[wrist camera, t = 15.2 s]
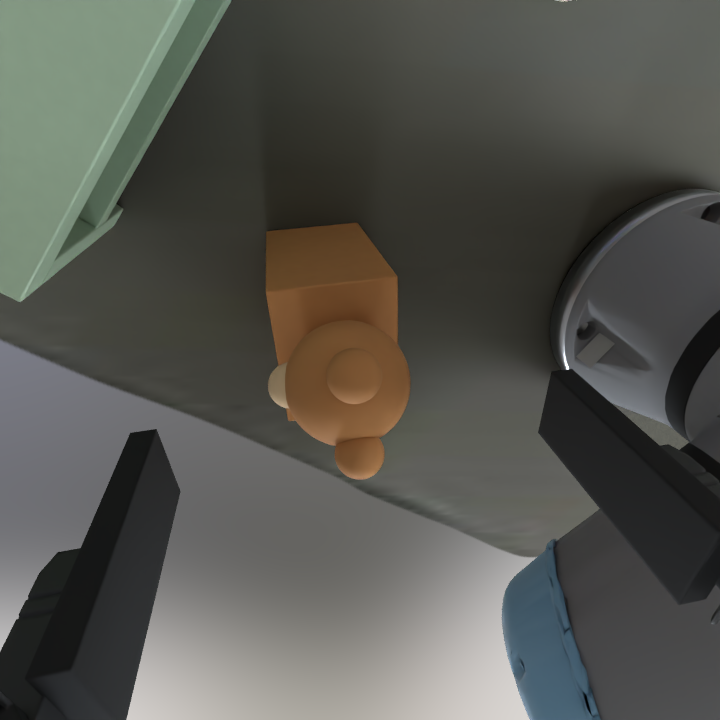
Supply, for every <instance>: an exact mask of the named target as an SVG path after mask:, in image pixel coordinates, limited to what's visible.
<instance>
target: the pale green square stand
mask: <svg viewBox="0 0 720 720" xmlns="http://www.w3.org/2000/svg"><path fill="white" fill-rule="evenodd" d="M231 1H232V0H0V293H2V294H4V295H6V296H8V297H10V298H12V299H14V300H16V301H19V302H21V301H22V300H24V299H25V298H26V297H27V296H29V295H30V294H31V293H32V292H34V291H35V290H36V289H37V288H38V287H40V286H41V285H42V284H43V283H45V282H46V281H47V280H48V279H50V278H51V277H52V276H53V275H54V274H56V273H57V272H58V271H59V270H61V269H62V268H63V267H64V266H65V265H67V264H68V263H69V262H70V261H72V260H73V259H74V258H75V257H77V256H78V255H79V254H80V253H81V252H83V251H84V250H85V249H86V248H88V247H89V246H90V245H91V244H93V243H94V242H95V241H96V240H97V239H99V238H100V237H101V236H102V235H104V234H105V233H106V232H107V231H109V230H110V229H111V228H112V227H113V226H114V225H115V223H116V221H117V220H118V218H119V216H120V215H121V213H122V211H123V208H122V207H120V206H119V205H117V204H116V203H117V201H118V199H119V198H120V196H121V194H122V192H123V191H124V189H125V187H126V185H127V184H128V182H129V180H130V178H131V177H132V175H133V173H134V171H135V170H136V168H137V166H138V164H139V163H140V161H141V159H142V157H143V155H144V154H145V152H146V150H147V148H148V147H149V145H150V143H151V141H152V140H153V138H154V136H155V134H156V133H157V131H158V129H159V127H160V126H161V124H162V122H163V120H164V119H165V117H166V115H167V113H168V112H169V110H170V108H171V106H172V104H173V103H174V101H175V99H176V97H177V96H178V94H179V92H180V90H181V89H182V87H183V85H184V83H185V82H186V80H187V78H188V76H189V75H190V73H191V71H192V69H193V68H194V66H195V64H196V62H197V61H198V59H199V57H200V55H201V53H202V52H203V50H204V48H205V46H206V45H207V43H208V41H209V39H210V38H211V36H212V34H213V32H214V31H215V29H216V27H217V25H218V24H219V22H220V20H221V18H222V17H223V15H224V13H225V11H226V9H227V8H228V6H229V4H230V2H231Z"/></svg>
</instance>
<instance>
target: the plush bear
mask: <svg viewBox="0 0 720 720" xmlns="http://www.w3.org/2000/svg"><path fill="white" fill-rule="evenodd" d="M266 297H267V303H268V309H269V314H270V320H271V326H272V331H273V337H274V343H275V348H276V354H277V360H278V365H279V366H278V367H276V368H275V369H274V371H273V372H272V373H271V375H270V378H269V381H268V390H269V393H270V396H271V398H272V399H273V400H274V401H275V402H276V403H277V404H278V405H280V406H282V407H284V408H286V411H287V417H288V420H289V421H293V420H296V422H297V423H298V424H299V425H300V426H301V428H302V429H304V430H305V431H306V432H307V433H308V434H310V435H311V436H312V437H314V438H315V439H317V440H320V441H322V442H324V443H326V444H330V445H334V446H336V448H335V460H336V463H337V466H338V467H339V469H340V470H341V471H342V472H343V473H344V474H345V475H346V476H348V477H350V478H353V479H366V478H369V477H371V476H373V475H374V474H376V473H377V472H378V471H379V469H380V468H381V466H382V464H383V461H384V447H383V444H382V442H381V440H380V439H379V438H380V437H382V436H383V435H385V434H386V433H387V432H388V431H390V430H391V429H392V428H393V427H394V426H395V425H396V423H397V422H398V420H399V419H400V418H401V416H402V414H403V412H404V411H405V408H406V405H407V403H408V399H409V395H410V384H411V383H410V373H409V368H408V364H407V362H406V359H405V357H404V355H403V353H402V351H401V349H400V348H399V347H398V277H397V275H396V274H395V273H394V271H393V270H392V269H391V267H390V266H389V265H388V263H387V262H386V261H385V259H384V258H383V256H382V255H381V254H380V252H379V251H378V250H377V248H376V247H375V246H374V244H373V243H372V242H371V240H370V239H369V238H368V236H367V235H366V234H365V232H364V231H363V230H362V228H361V227H360V225H359V224H358V223H347V224H337V225H327V226H316V227H306V228H295V229H285V230H275V231H267V232H266Z"/></svg>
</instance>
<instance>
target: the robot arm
mask: <svg viewBox="0 0 720 720" xmlns="http://www.w3.org/2000/svg"><path fill="white" fill-rule="evenodd" d="M550 341H551V347H552V351H553V354H554V357H555V359H556V361H557V363H558V365H559V366H560V368H561V369H562V370H559V371H553V372H551V376H550V381H549V386H548V390H547V395H546V399H545V404H544V408H543V413H542V418H541V422H540V427H539V431H538V433H539V434H540V435H541V437H542V438H543V439H544V440H545V442H546V443H547V444H548V445H549V446H550V448H551V449H552V450H553V451H554V453H555V454H556V455H557V456H558V458H559V459H560V460H561V461H562V462H563V464H564V465H565V466H566V467H567V469H568V470H569V471H570V472H571V474H572V475H573V476H574V477H575V478H576V480H577V481H578V482H579V483H580V485H581V486H582V487H583V488H584V490H585V491H586V492H587V493H588V494H589V496H590V497H591V498H592V499H593V501H594V502H595V503H596V504H597V506H598V507H599V508H600V509H599V510H598V511H597V512H595V513H594V514H593V515H591V516H590V517H589V518H587V519H586V520H585V521H583V522H582V523H581V524H579V525H578V526H576V527H575V528H574V529H572V530H571V531H570V532H568V533H567V534H566V535H564V536H563V537H562V538H560V539H559V540H557V539H553V540H551V541H550V542H549V543H548V544H547V546H546V550H545V551H544V552H543V553H542V554H541V555H539V556H538V557H537V558H536V559H535V560H534V561H532V562H531V563H530V564H529V565H528V566H526V567H525V568H524V569H523V570H522V571H520V572H519V573H518V574H517V575H516V576H515V577H514V578H513V579H512V580H511V581H510V583H509V585H508V587H507V589H506V591H505V595H504V598H503V606H502V626H503V634H504V641H505V645H506V650H507V654H508V659H509V661H510V665H511V668H512V671H513V674H514V677H515V680H516V684H517V687H518V691H519V693H520V696H521V699H522V701H523V704H524V706H525V709H526V711H527V714H528V716H529V719H530V720H720V192H716V191H711V190H706V189H683V190H677V191H672V192H669V193H665V194H662V195H659V196H657V197H654V198H651V199H649V200H647V201H645V202H643V203H641V204H639V205H637V206H635V207H634V208H632V209H630V210H629V211H627V212H626V213H624V214H623V215H621V216H620V217H619V218H617V219H616V220H615V221H613V222H612V223H611V224H610V225H608V226H607V227H606V228H605V229H604V230H603V231H602V232H601V233H600V234H599V235H597V236H596V237H595V239H594V240H593V241H592V242H591V243H590V244H589V245H588V246H587V247H586V249H585V250H584V251H583V252H582V253H581V255H580V256H579V257H578V259H577V260H576V262H575V263H574V265H573V266H572V268H571V269H570V271H569V273H568V274H567V276H566V278H565V280H564V282H563V284H562V286H561V288H560V290H559V293H558V295H557V298H556V301H555V304H554V307H553V312H552V316H551V324H550ZM610 402H611V403H610ZM612 403H614V404H616V405H619V406H621V407H624V408H626V409H629V410H631V411H634V412H637V413H639V414H642V415H644V416H647V417H649V418H652V419H654V420H657V421H659V422H662V423H665V424H667V425H669V426H670V427H671V428H673V429H674V430H675V431H676V432H678V433H679V434H680V435H682V436H683V437H684V438H685V439H687V440H688V441H689V443H688V444H687V445H685V446H684V447H683V448H681V449H680V450H678V449H676V448H674V447H672V446H670V445H662V446H659V445H658V444H657V443H656V442H655V441H654V440H652V439H651V438H650V437H649V436H648V435H647V434H646V433H645V432H643V431H642V430H641V429H640V428H639V427H638V426H637V425H635V424H634V423H633V422H632V421H631V420H630V419H629V418H627V417H626V416H625V415H624V414H623V413H622V412H621V411H619V410H618V409H617V408H616V407H615V406H614V405H613V404H612ZM179 495H180V489H179V487H178V484H177V481H176V479H175V476H174V474H173V472H172V469H171V466H170V463H169V461H168V458H167V456H166V453H165V450H164V448H163V445H162V442H161V440H160V437H159V434H158V432H157V429H155V430H147V431H141V432H134V433H130V435H129V438H128V440H127V442H126V444H125V447H124V449H123V451H122V454H121V456H120V458H119V461H118V463H117V465H116V468H115V470H114V472H113V475H112V477H111V479H110V482H109V484H108V486H107V488H106V491H105V493H104V495H103V498H102V500H101V502H100V505H99V507H98V509H97V512H96V514H95V516H94V519H93V521H92V523H91V526H90V528H89V530H88V533H87V535H86V537H85V539H84V542H83V544H82V547H81V548H80V549H74V550H69V551H63V552H58V553H57V554H56V555H55V556H54V557H53V558H52V560H51V561H50V562H49V563H48V564H47V565H46V566H45V567H44V569H43V570H42V571H41V572H40V573H39V575H38V577H37V579H36V581H35V583H34V585H33V587H32V589H31V591H30V593H29V595H28V600H26V601H25V603H24V605H23V607H22V609H21V611H20V613H19V619H17V620H16V621H15V623H14V625H13V627H12V629H11V632H10V633H9V636H8V638H7V639H6V642H5V643H4V645H3V647H2V650H1V652H0V720H126V718H127V714H128V710H129V706H130V702H131V697H132V693H133V689H134V685H135V680H136V676H137V672H138V668H139V664H140V659H141V655H142V651H143V646H144V642H145V638H146V634H147V630H148V626H149V621H150V617H151V613H152V608H153V604H154V600H155V596H156V592H157V588H158V583H159V579H160V575H161V571H162V566H163V562H164V558H165V554H166V549H167V545H168V541H169V537H170V533H171V528H172V524H173V520H174V516H175V511H176V507H177V503H178V499H179Z"/></svg>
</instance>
